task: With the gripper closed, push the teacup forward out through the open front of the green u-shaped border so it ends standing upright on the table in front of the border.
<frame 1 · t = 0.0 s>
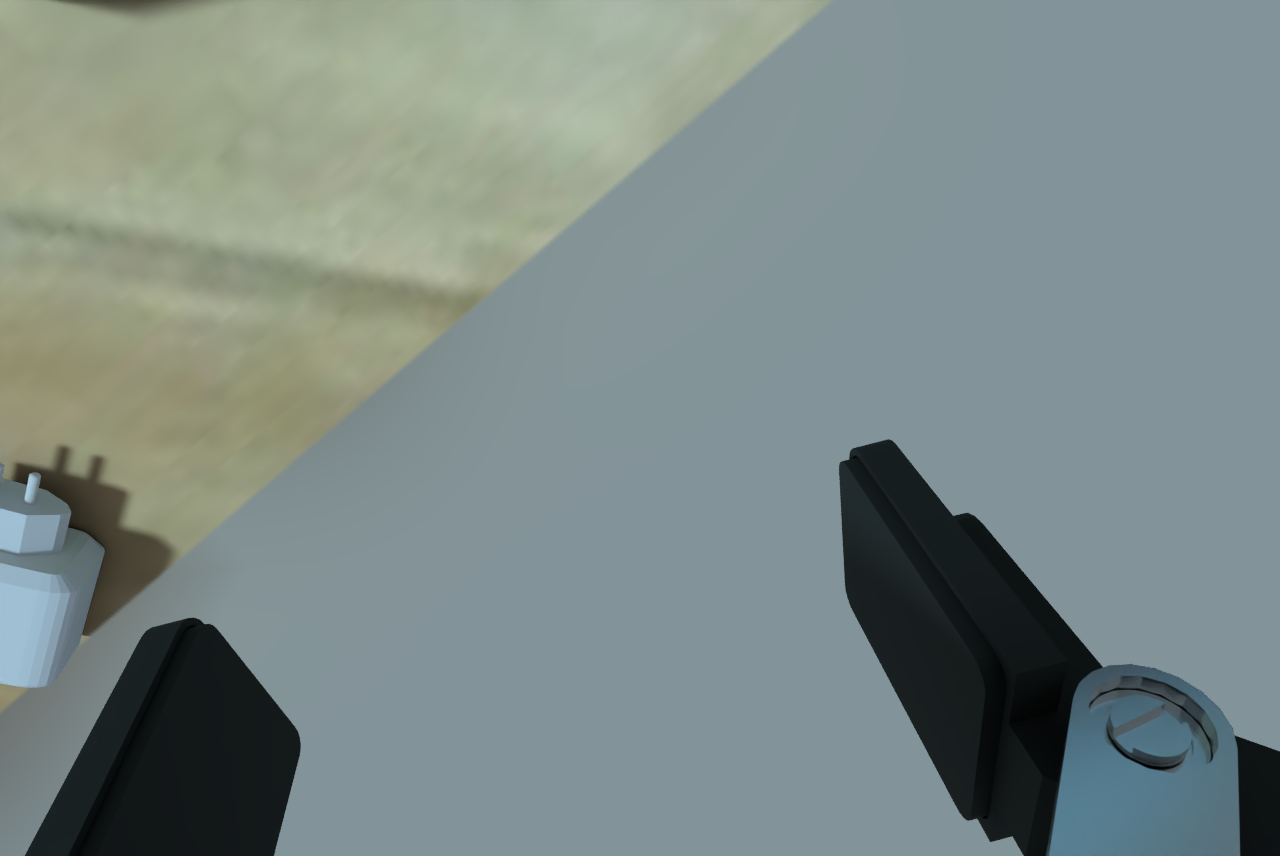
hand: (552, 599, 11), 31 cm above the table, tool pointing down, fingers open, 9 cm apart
charger: (23, 534, 45), on the table
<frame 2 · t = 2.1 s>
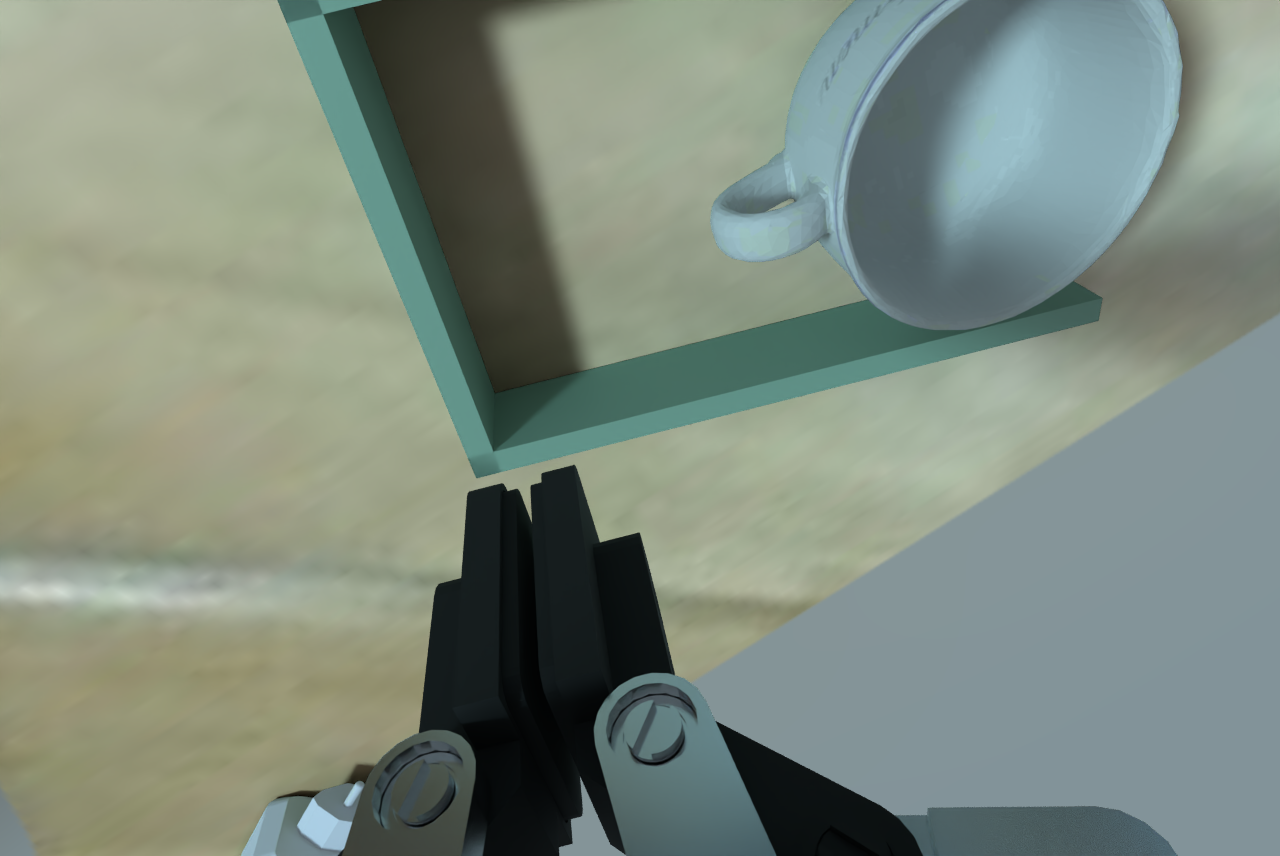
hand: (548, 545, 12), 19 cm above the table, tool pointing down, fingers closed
green u-shaped border: (734, 154, 28), on the table
charger: (340, 812, 47), on the table
teacup: (851, 123, 28), on the table
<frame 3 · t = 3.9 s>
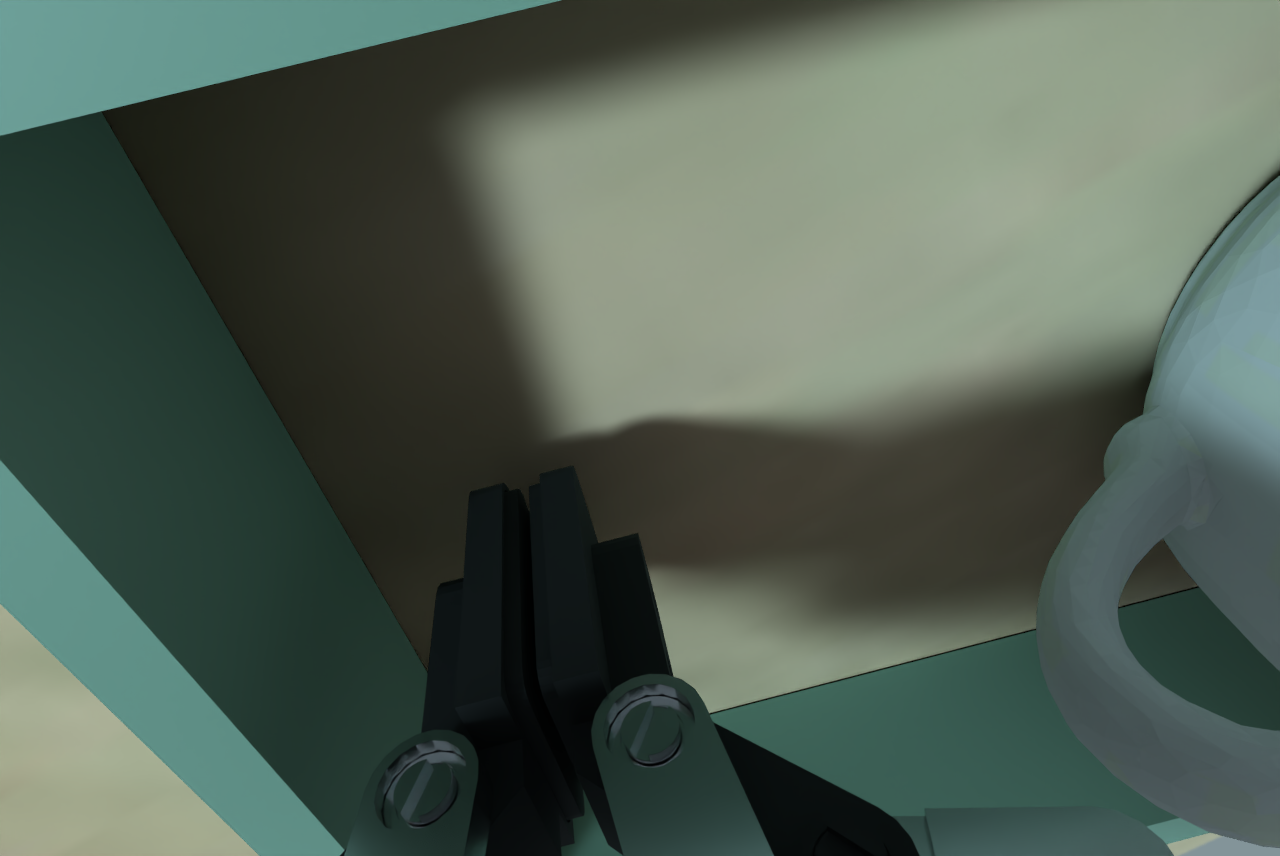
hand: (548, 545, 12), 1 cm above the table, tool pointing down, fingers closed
green u-shaped border: (995, 380, 13), on the table
teacup: (1238, 309, 13), on the table
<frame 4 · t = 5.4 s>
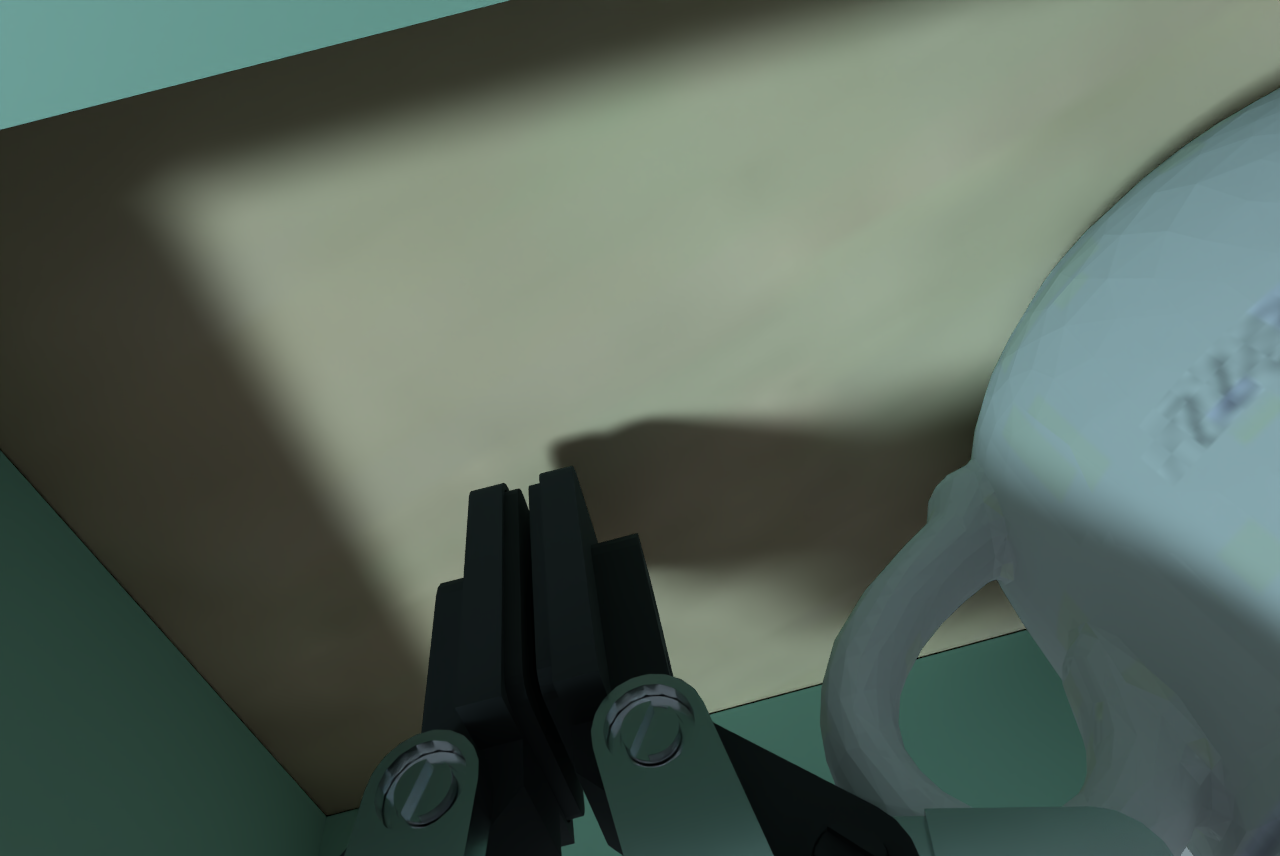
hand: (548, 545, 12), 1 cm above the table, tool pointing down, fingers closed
green u-shaped border: (786, 430, 13), on the table
teacup: (1086, 349, 13), on the table, touching gripper
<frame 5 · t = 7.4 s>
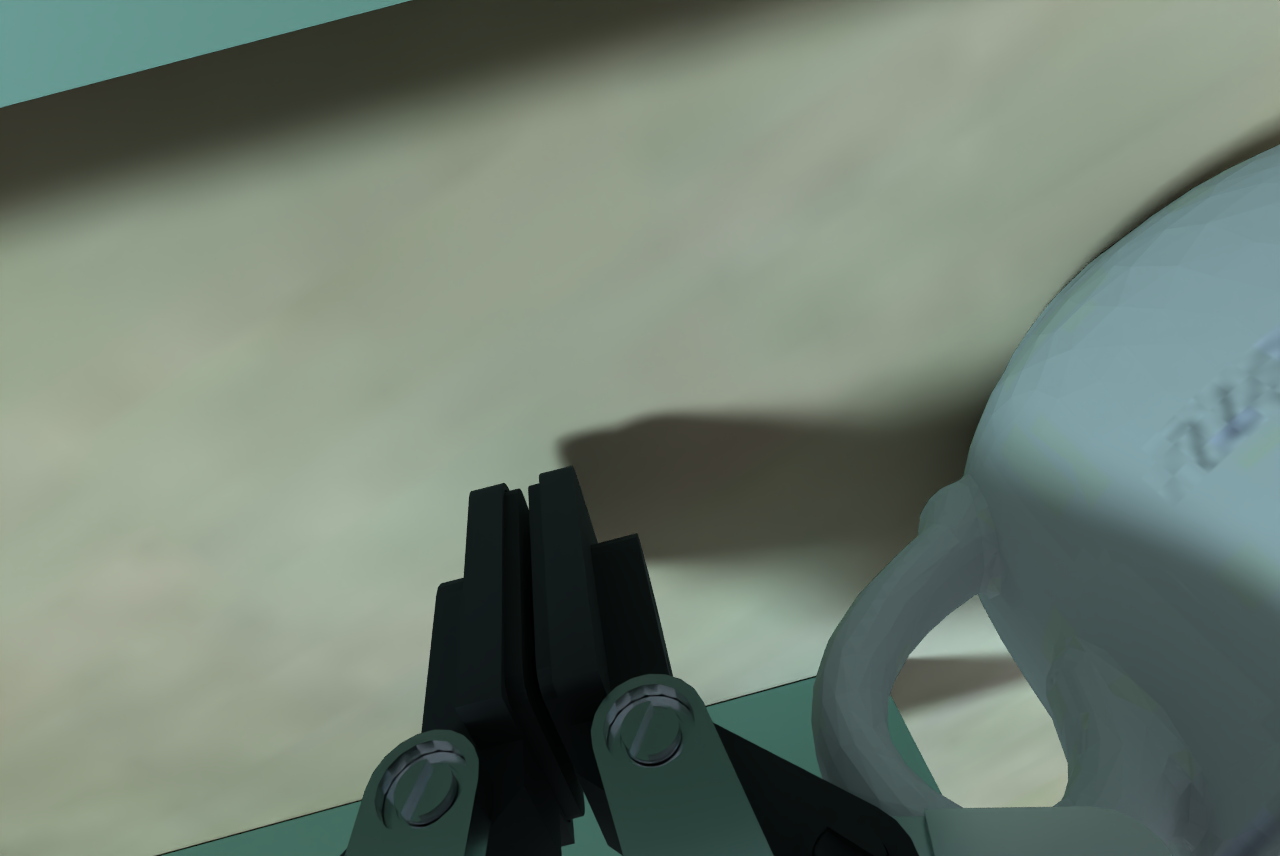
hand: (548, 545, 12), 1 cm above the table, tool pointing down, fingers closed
green u-shaped border: (157, 588, 13), on the table
teacup: (1074, 380, 14), on the table, touching gripper
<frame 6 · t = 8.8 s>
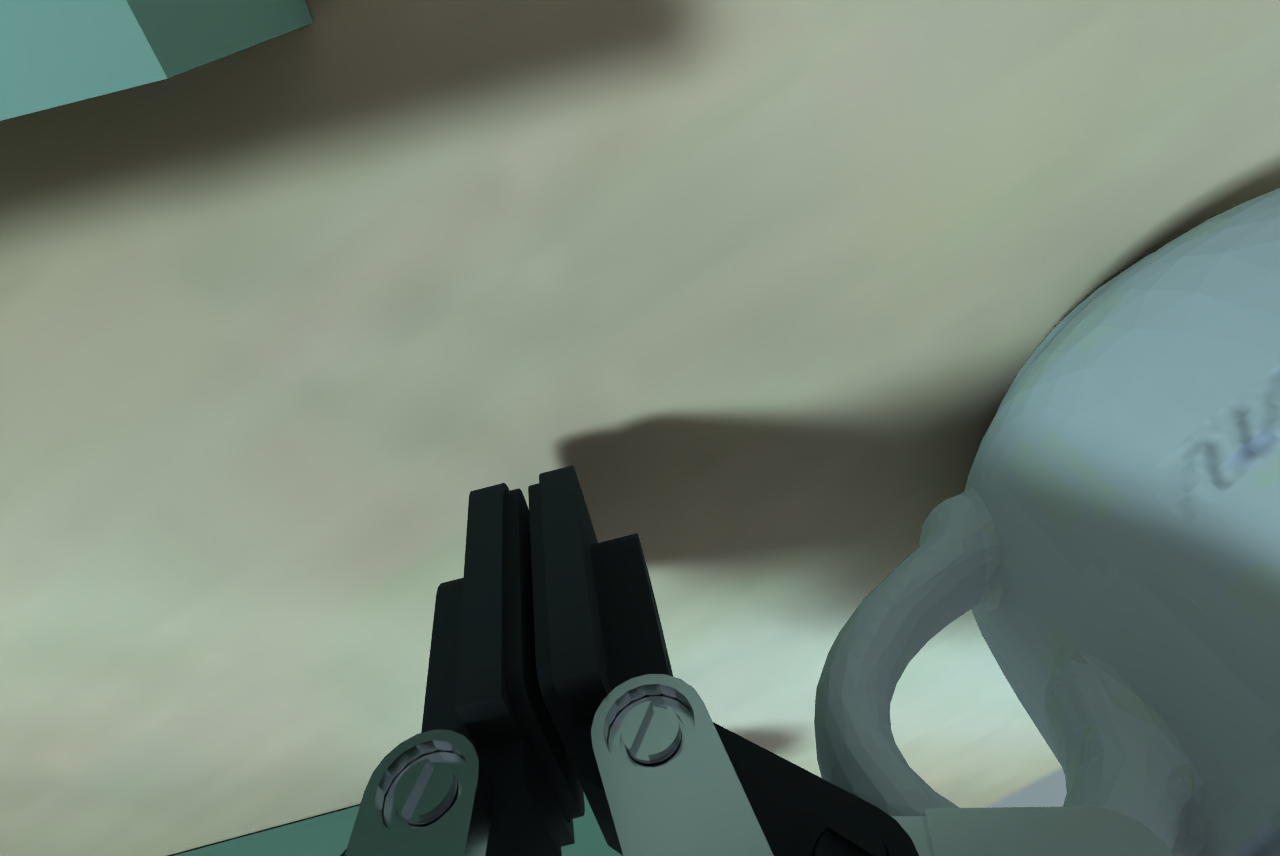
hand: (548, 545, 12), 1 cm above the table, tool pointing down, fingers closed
teacup: (1071, 403, 14), on the table, touching gripper
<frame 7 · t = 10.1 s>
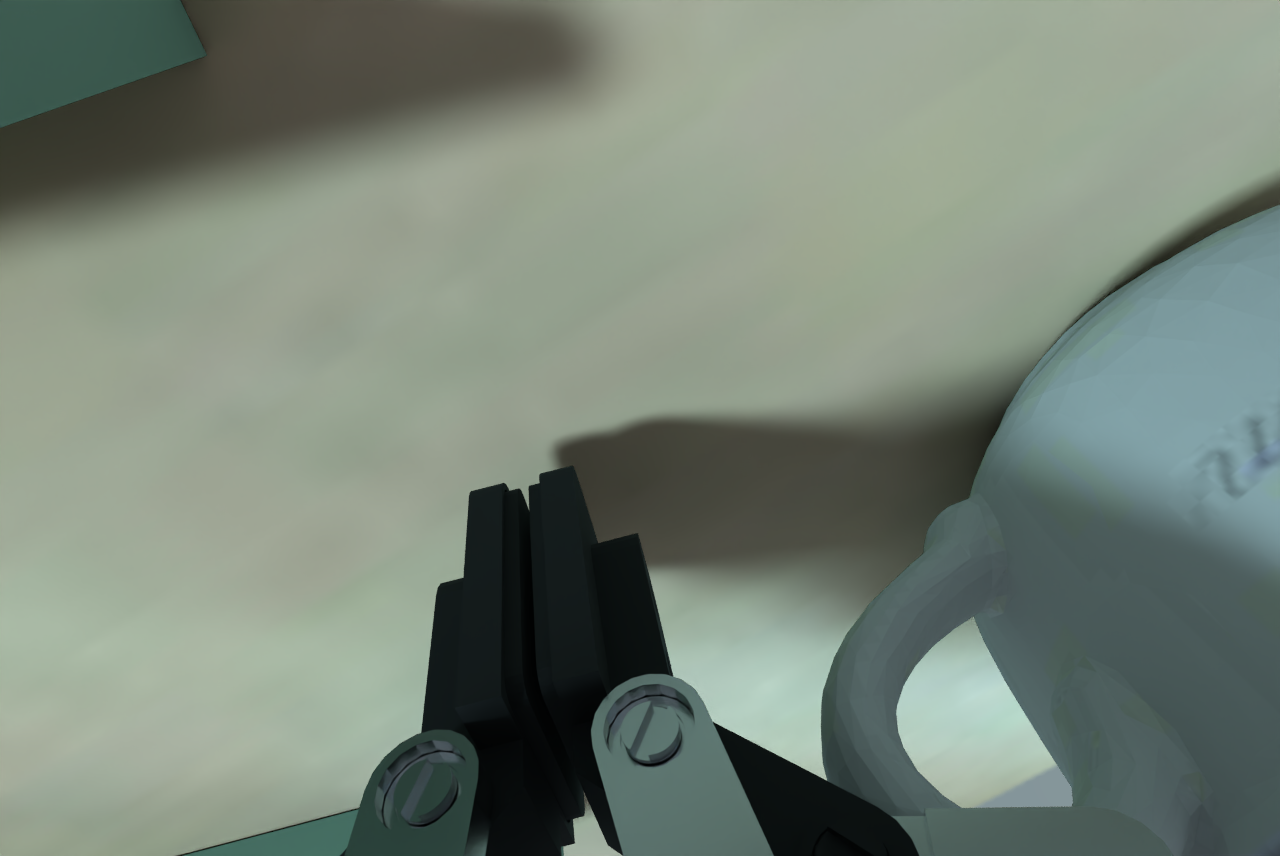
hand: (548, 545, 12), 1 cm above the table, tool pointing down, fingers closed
teacup: (1074, 412, 14), on the table, touching gripper
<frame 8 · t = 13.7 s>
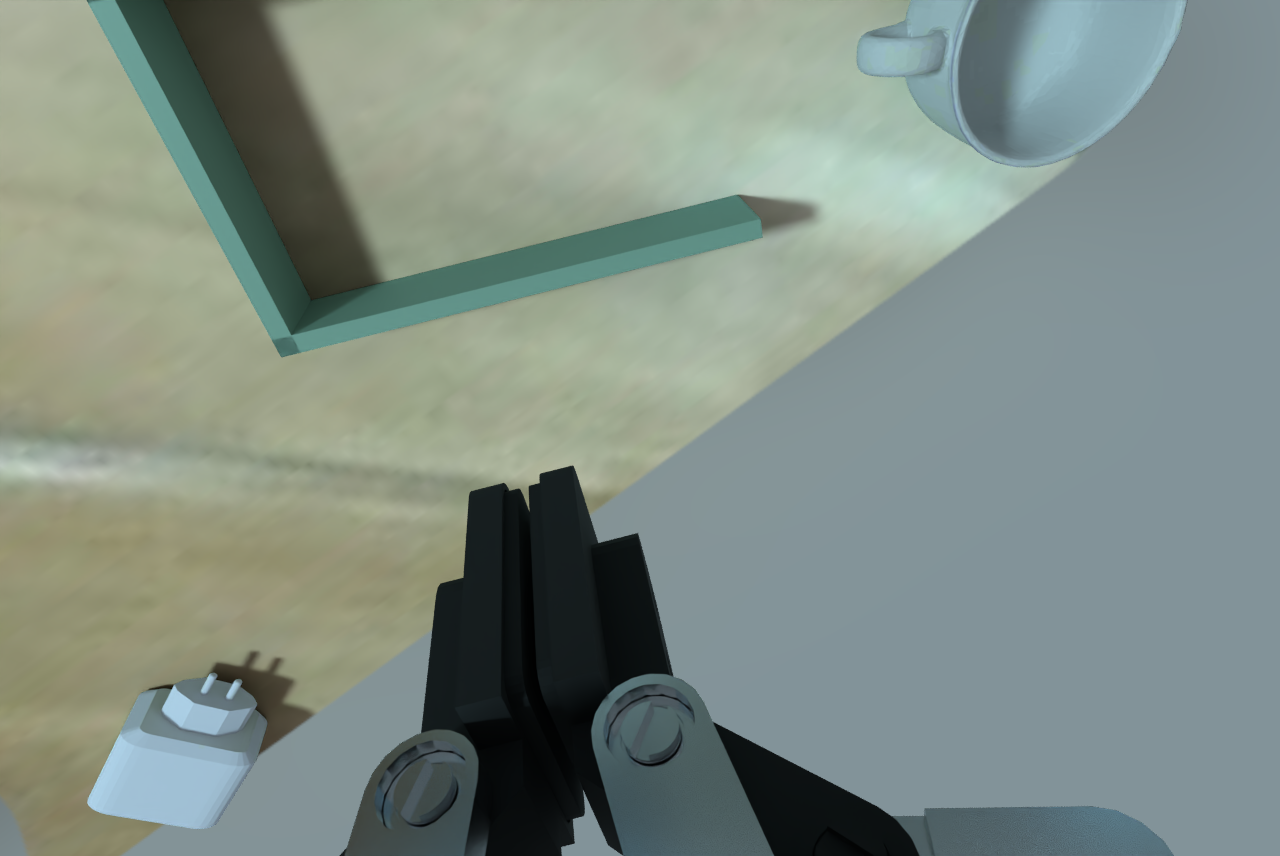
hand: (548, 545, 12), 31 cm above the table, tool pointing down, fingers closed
green u-shaped border: (473, 108, 36), on the table
charger: (204, 708, 57), on the table
teacup: (945, 22, 38), on the table
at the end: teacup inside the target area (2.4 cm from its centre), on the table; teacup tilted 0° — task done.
